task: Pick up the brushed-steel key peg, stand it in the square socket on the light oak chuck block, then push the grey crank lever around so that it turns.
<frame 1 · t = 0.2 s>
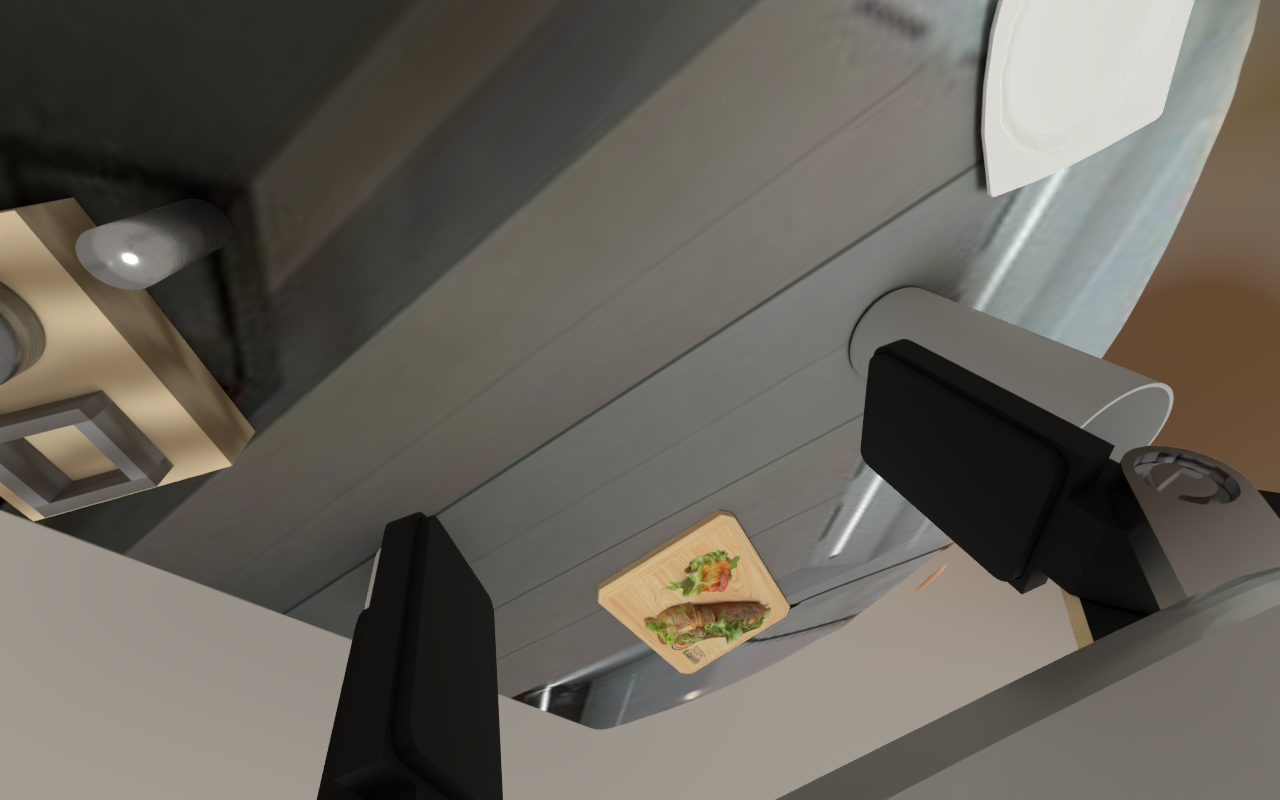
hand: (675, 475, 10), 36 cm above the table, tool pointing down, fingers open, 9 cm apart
cylinder vase: (888, 332, 60), on the table
plate: (1071, 39, 47), on the table
chuck block: (76, 355, 35), on the table
cutting board: (700, 595, 78), on the table
key peg: (203, 223, 34), on the table
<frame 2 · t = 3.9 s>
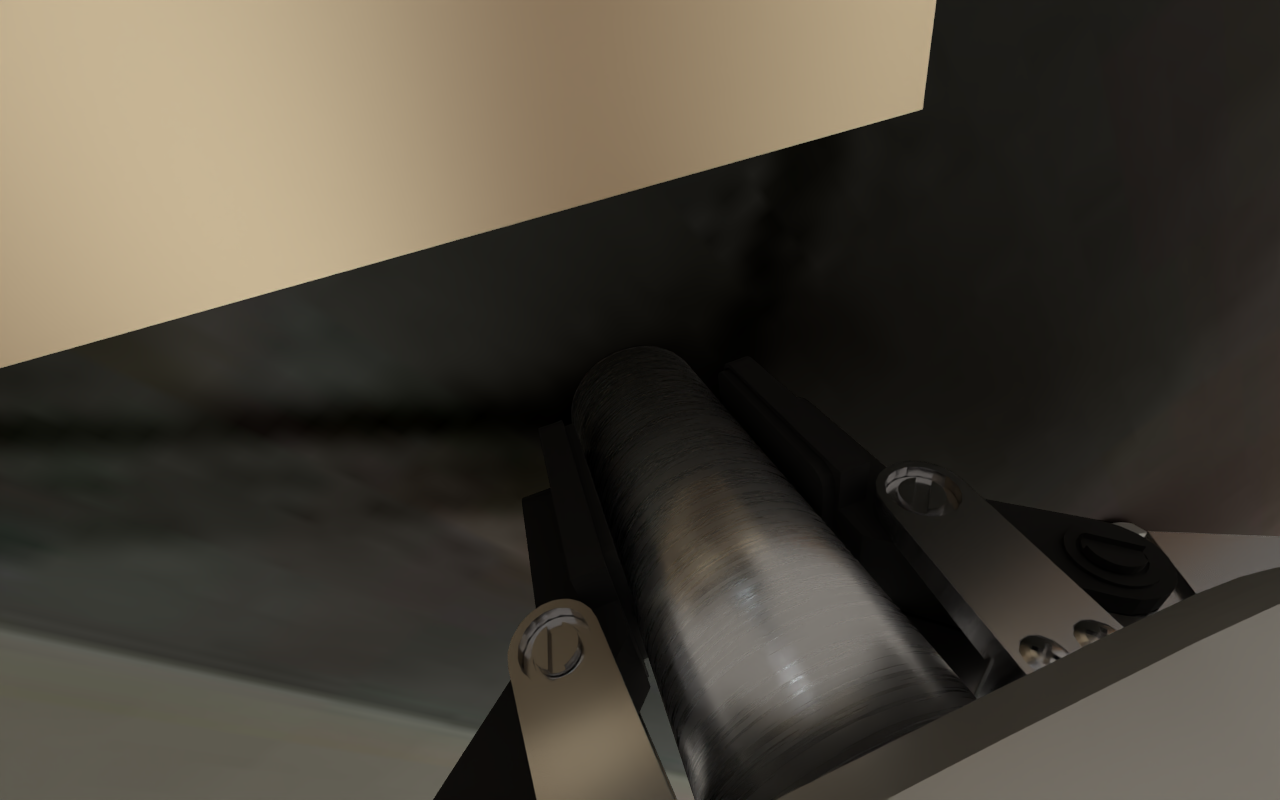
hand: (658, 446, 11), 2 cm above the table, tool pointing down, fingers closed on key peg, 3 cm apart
key peg: (636, 406, 12), on the table, touching gripper
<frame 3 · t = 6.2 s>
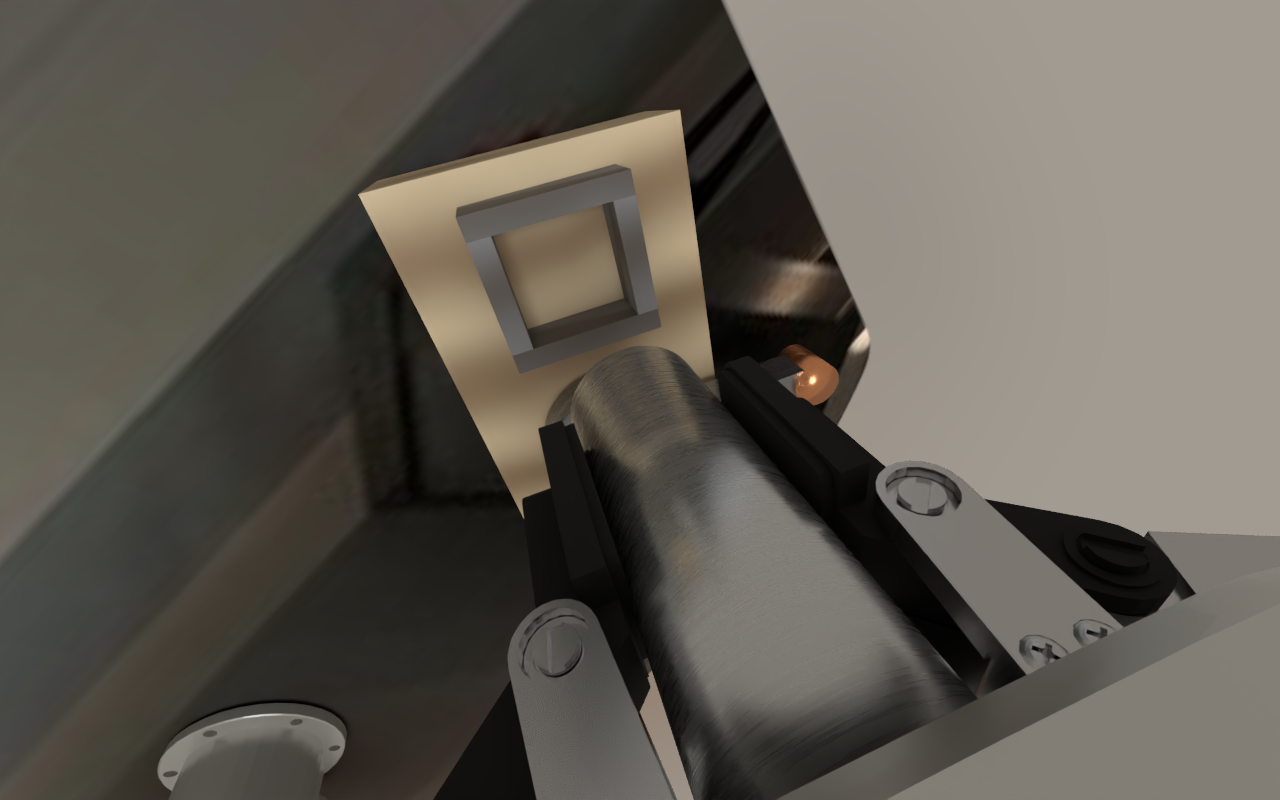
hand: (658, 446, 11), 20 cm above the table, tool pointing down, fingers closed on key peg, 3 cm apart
grey crank lever: (723, 455, 24), point 11 cm above the table, hinge at 0.0°
chuck block: (572, 320, 29), on the table
key peg: (636, 406, 12), point 18 cm above the table, touching gripper
when the fingers open (8 cm above the table, at t = 8.6 s): key peg drops 1 cm, resting on chuck block.
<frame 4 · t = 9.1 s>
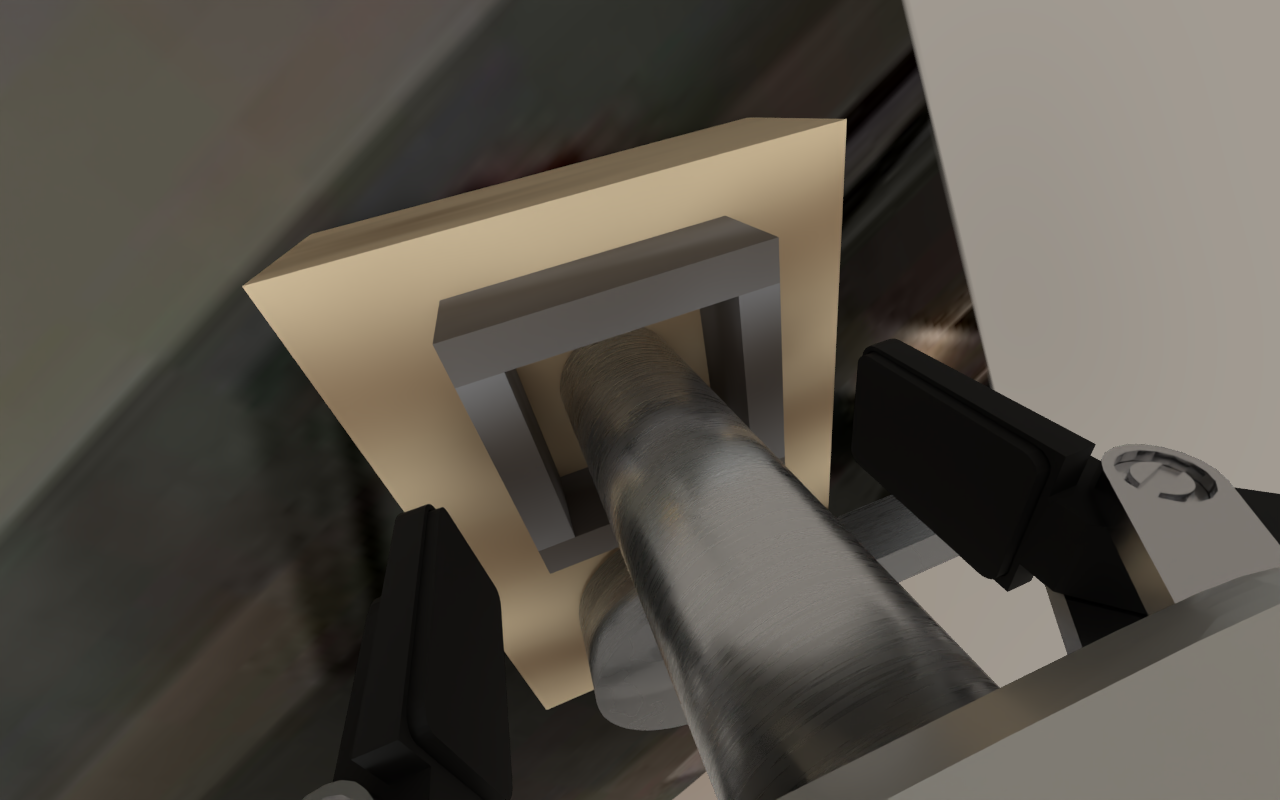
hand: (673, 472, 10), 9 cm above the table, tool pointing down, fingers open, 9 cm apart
grey crank lever: (876, 679, 15), point 11 cm above the table, hinge at 0.0°
chuck block: (616, 422, 20), on the table
key peg: (620, 381, 13), point 5 cm above the table, touching chuck block
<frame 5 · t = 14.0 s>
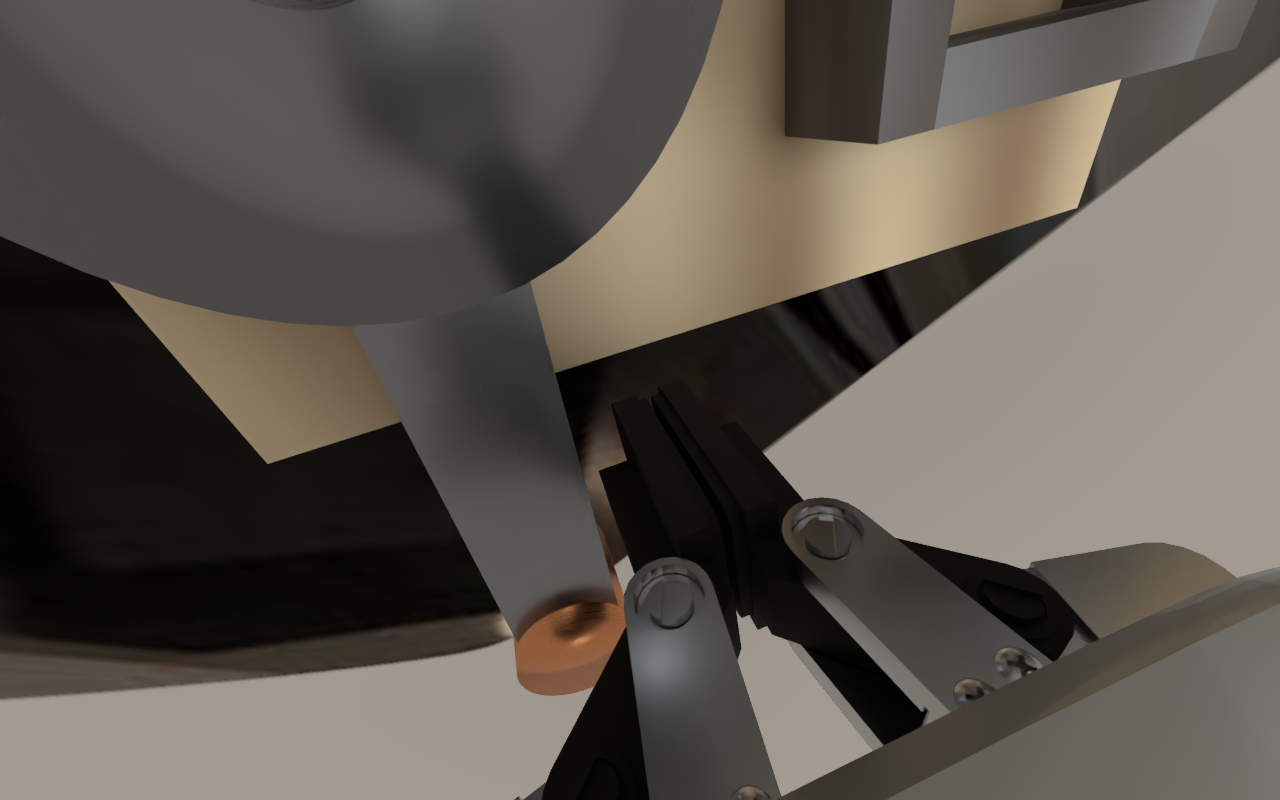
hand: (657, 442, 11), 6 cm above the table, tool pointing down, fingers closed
grey crank lever: (459, 496, 4), point 11 cm above the table, hinge at -2.9°, touching gripper
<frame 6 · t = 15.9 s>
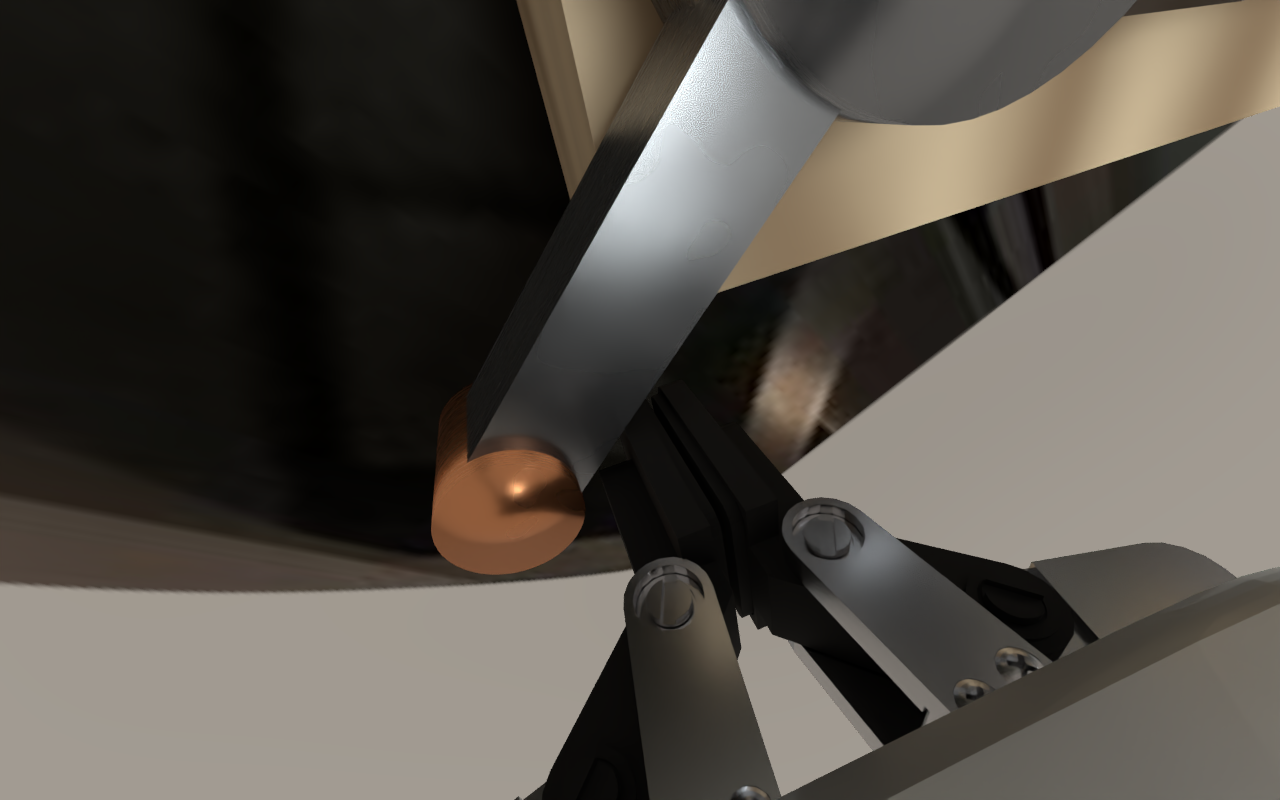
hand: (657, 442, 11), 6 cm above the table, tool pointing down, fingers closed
grey crank lever: (927, 121, 4), point 11 cm above the table, hinge at -46.0°, touching gripper
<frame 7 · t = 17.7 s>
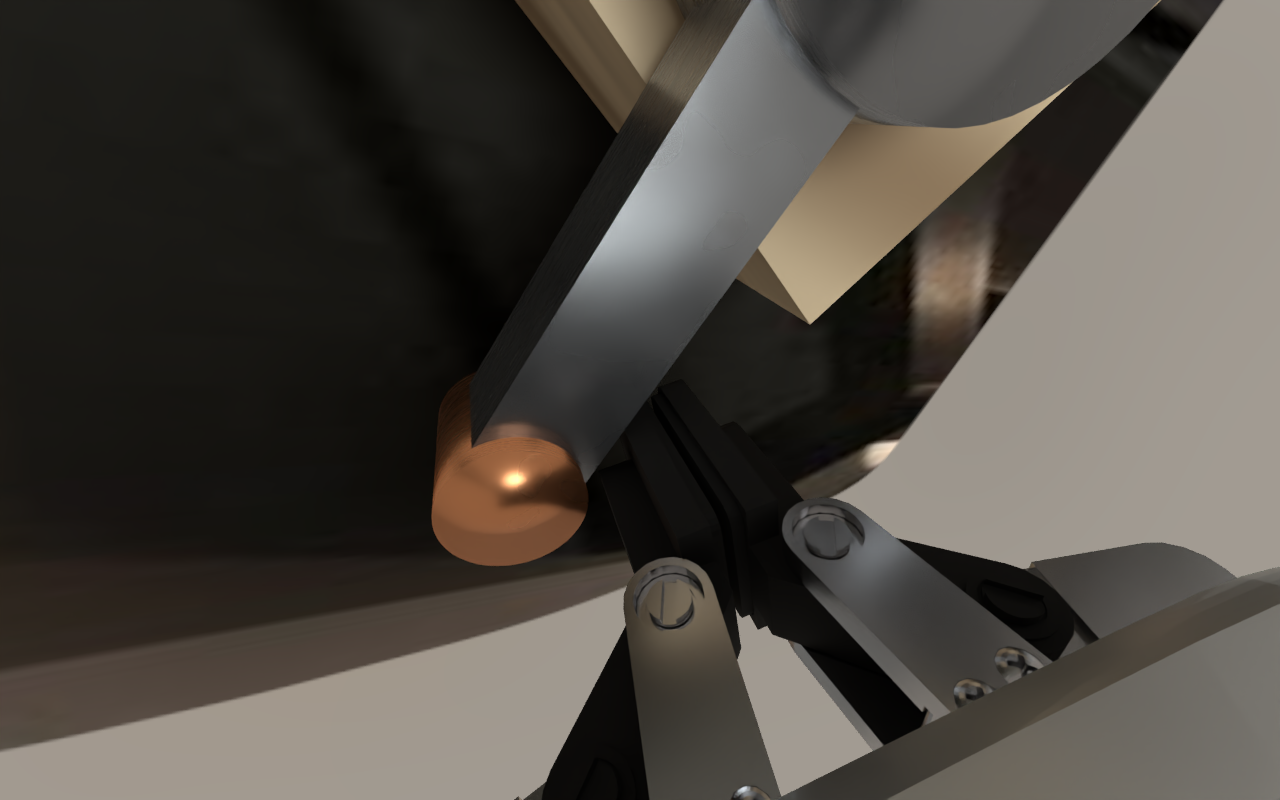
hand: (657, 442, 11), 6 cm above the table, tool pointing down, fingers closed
grey crank lever: (961, 108, 4), point 11 cm above the table, hinge at -78.0°, touching gripper
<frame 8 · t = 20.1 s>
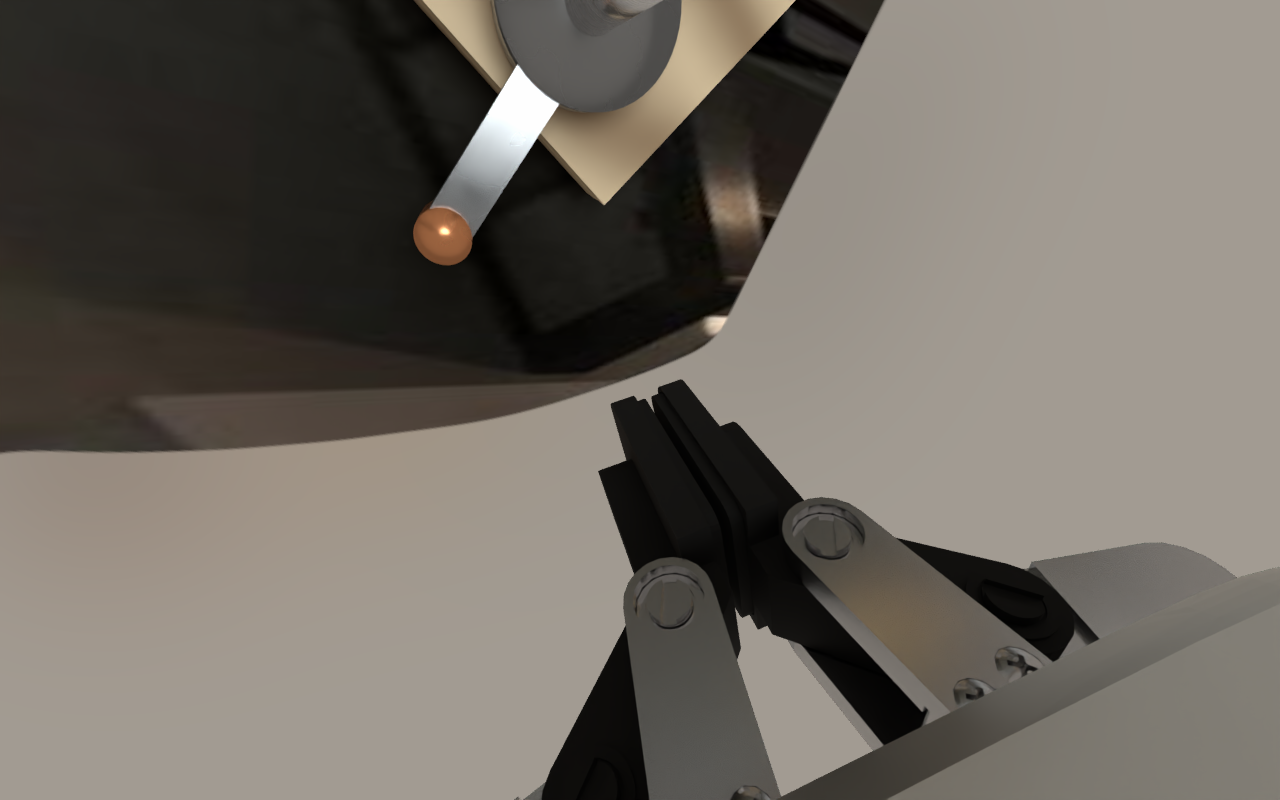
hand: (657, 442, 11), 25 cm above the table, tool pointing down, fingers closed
grey crank lever: (536, 98, 19), point 11 cm above the table, hinge at -82.3°
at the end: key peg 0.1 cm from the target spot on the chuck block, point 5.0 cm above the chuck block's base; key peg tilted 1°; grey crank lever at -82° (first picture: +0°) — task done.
